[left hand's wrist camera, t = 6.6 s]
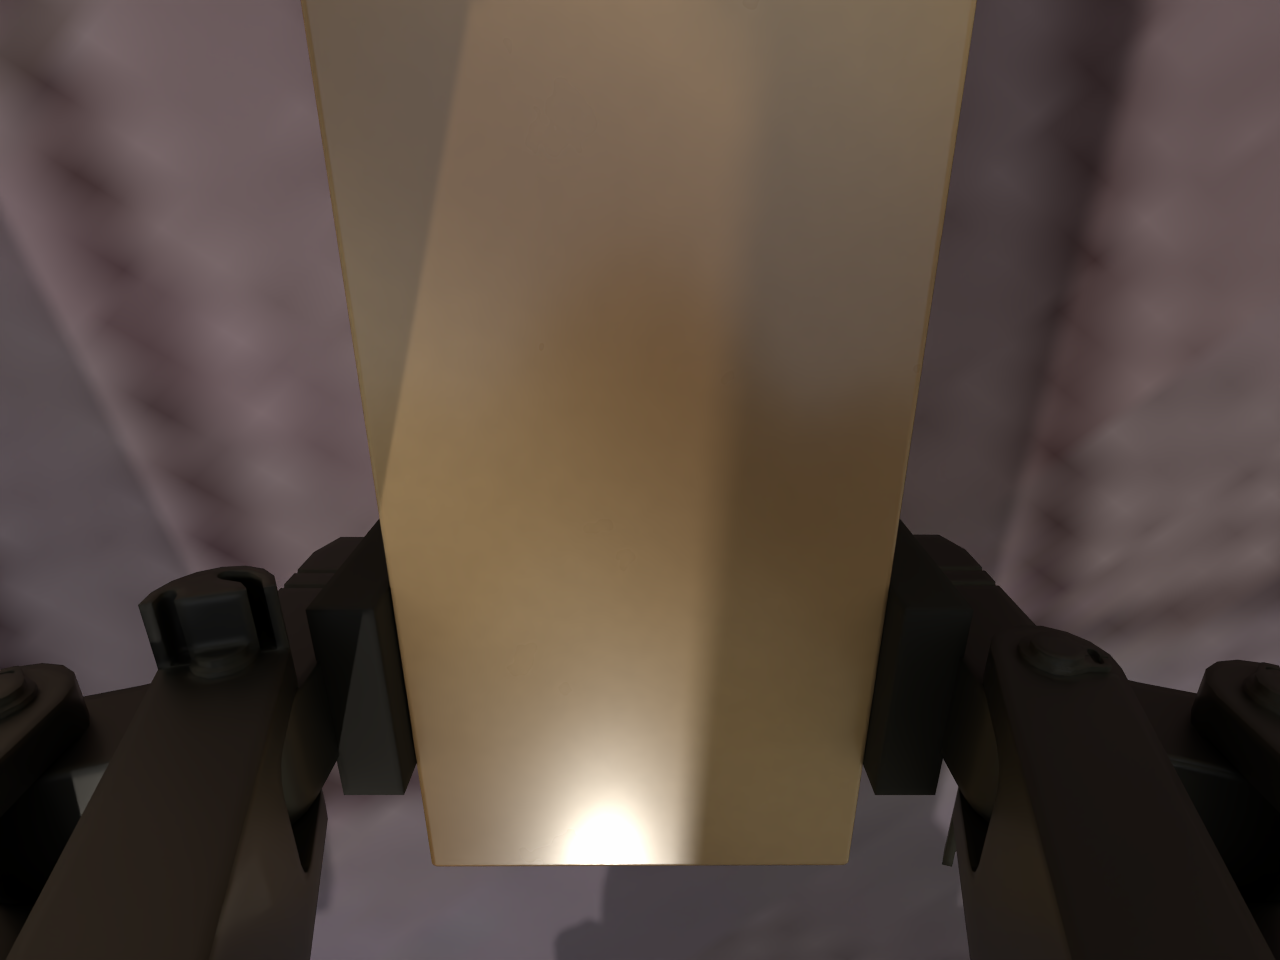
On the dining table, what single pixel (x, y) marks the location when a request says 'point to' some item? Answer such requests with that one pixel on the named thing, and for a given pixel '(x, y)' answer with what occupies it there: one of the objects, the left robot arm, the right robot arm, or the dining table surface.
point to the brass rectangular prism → (639, 398)
